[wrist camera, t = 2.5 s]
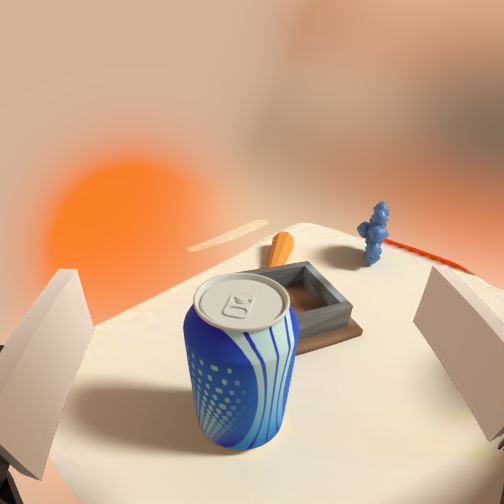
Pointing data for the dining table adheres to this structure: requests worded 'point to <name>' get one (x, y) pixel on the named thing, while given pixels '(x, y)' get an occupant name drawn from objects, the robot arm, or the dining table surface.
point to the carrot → (280, 249)
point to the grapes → (375, 232)
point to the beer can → (240, 357)
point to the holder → (314, 306)
